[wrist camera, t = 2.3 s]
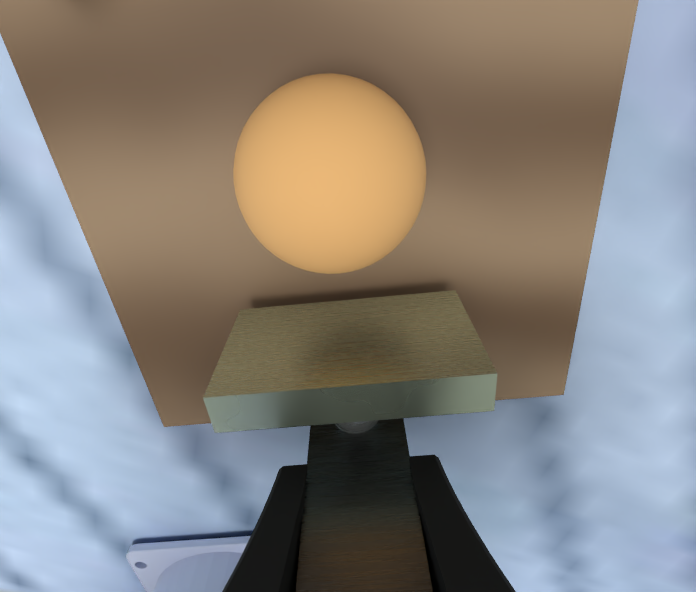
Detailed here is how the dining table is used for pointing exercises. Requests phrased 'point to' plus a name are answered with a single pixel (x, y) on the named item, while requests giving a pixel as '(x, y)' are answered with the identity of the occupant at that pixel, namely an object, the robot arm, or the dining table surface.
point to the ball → (329, 173)
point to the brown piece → (347, 59)
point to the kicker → (354, 419)
